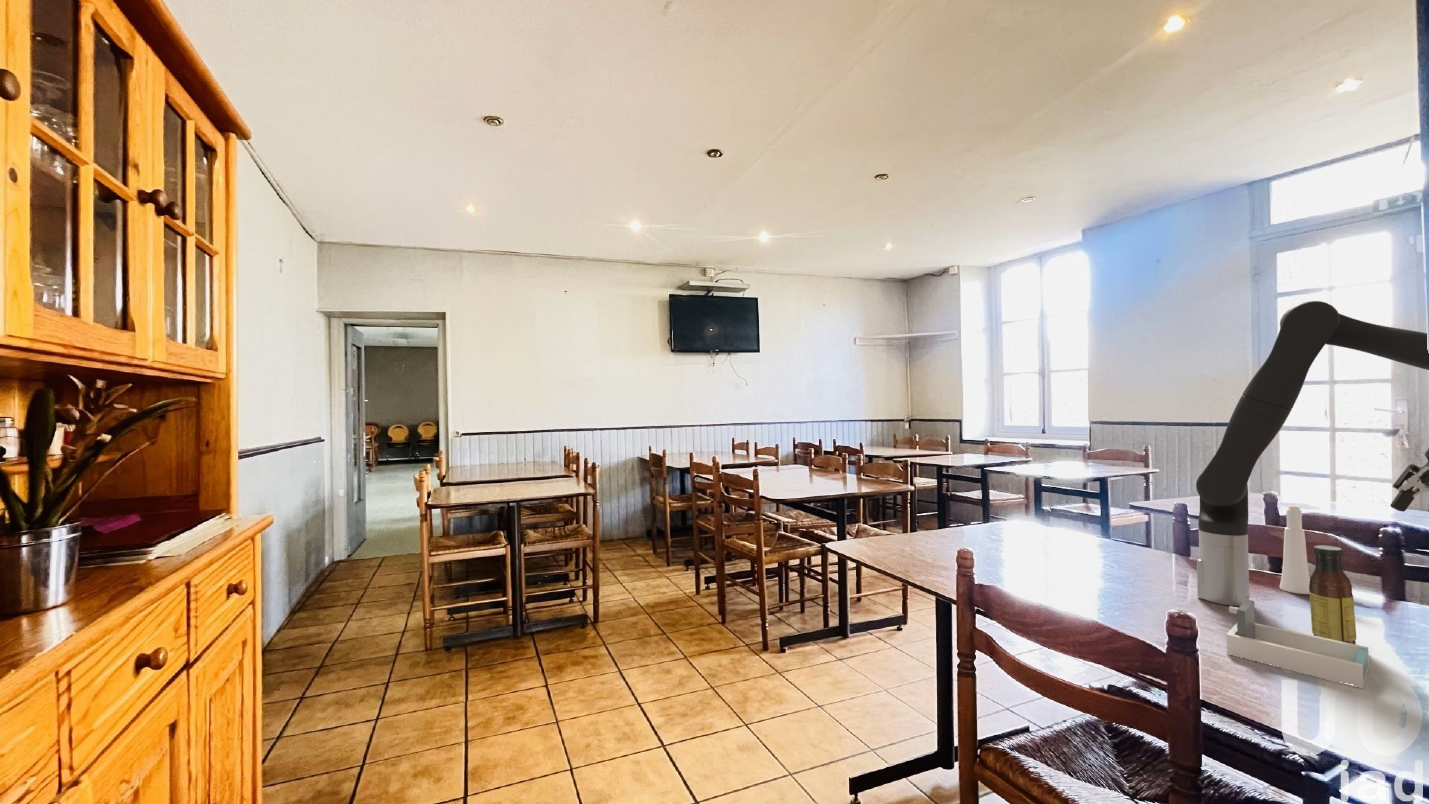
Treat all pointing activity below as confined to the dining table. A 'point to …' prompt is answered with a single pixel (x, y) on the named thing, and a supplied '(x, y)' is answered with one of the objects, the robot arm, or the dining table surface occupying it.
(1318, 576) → the sauce bottle
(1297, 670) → the pusher lane
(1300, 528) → the cosmetic bottle
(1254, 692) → the dining table surface
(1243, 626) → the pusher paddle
